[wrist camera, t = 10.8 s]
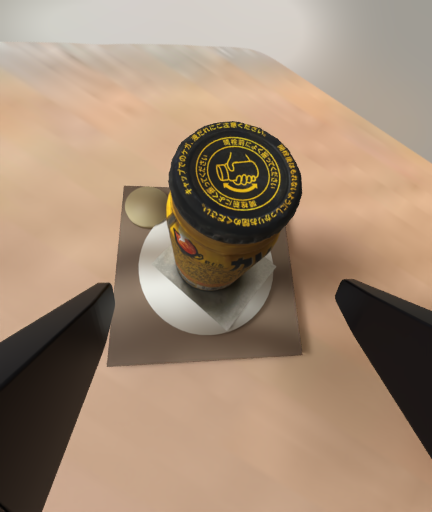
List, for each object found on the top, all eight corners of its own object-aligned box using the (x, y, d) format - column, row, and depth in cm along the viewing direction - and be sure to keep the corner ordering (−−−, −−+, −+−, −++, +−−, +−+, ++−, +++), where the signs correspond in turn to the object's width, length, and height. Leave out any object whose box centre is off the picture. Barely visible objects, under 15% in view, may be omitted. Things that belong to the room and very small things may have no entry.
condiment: (206, 209, 21) (228, 75, 9) (275, 267, 20) (392, 197, 9) (151, 264, 19) (92, 178, 7) (226, 331, 18) (293, 353, 6)
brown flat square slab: (296, 353, 20) (307, 356, 18) (111, 364, 18) (102, 369, 16) (277, 197, 24) (283, 187, 22) (126, 191, 22) (121, 180, 20)
